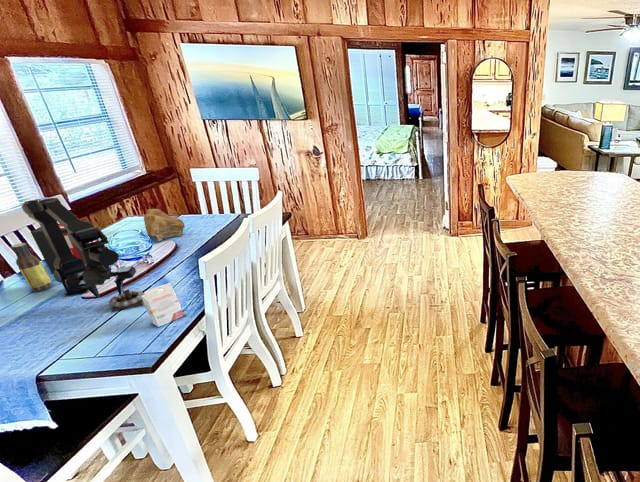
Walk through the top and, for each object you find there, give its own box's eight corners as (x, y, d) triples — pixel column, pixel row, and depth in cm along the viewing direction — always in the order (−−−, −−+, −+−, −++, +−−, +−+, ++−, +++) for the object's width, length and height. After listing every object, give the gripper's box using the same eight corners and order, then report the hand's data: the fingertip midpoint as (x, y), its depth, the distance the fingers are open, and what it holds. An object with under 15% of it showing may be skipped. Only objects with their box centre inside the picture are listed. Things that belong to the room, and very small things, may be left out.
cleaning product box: (51, 273, 172) (30, 232, 163) (63, 264, 179) (44, 224, 171) (97, 268, 177) (79, 228, 168) (107, 260, 184) (90, 221, 176)
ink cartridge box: (178, 312, 147) (165, 278, 141) (184, 316, 145) (172, 282, 139) (151, 323, 141) (137, 288, 134) (157, 327, 138) (143, 292, 132)
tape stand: (112, 311, 147) (106, 297, 144) (119, 299, 154) (113, 286, 152) (142, 305, 151) (137, 292, 148) (147, 294, 158) (142, 281, 155)
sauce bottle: (57, 284, 164) (35, 241, 155) (43, 292, 158) (19, 248, 150) (41, 284, 163) (19, 241, 155) (26, 292, 158) (2, 248, 149)
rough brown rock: (187, 241, 207) (181, 214, 202) (146, 246, 198) (140, 218, 192) (186, 229, 224) (181, 204, 219) (149, 232, 215) (142, 206, 210)
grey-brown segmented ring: (106, 310, 145) (104, 306, 144) (114, 297, 154) (113, 293, 153) (141, 304, 150) (139, 299, 149) (147, 291, 158) (145, 287, 157)
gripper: (50, 272, 131) (68, 311, 138) (121, 264, 139) (135, 300, 146) (64, 259, 140) (80, 296, 147) (130, 251, 148) (142, 287, 155)
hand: (109, 295), depth 148 cm, fingers open, 6 cm apart
